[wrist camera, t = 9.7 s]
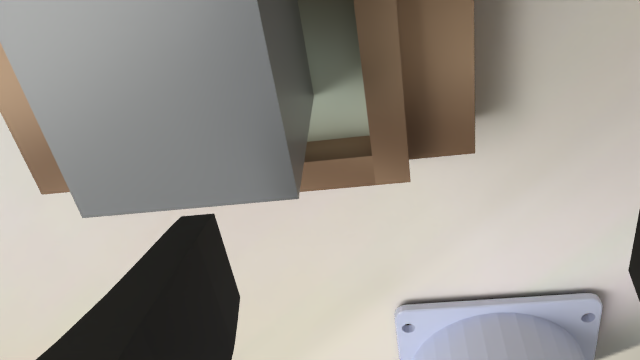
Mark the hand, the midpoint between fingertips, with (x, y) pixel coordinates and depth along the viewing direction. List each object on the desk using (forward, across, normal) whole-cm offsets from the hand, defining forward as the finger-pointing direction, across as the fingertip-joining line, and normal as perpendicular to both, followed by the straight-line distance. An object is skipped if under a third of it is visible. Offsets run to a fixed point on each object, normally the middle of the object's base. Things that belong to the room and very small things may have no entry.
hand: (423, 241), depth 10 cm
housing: (+7, +5, -4) cm, 10 cm away
